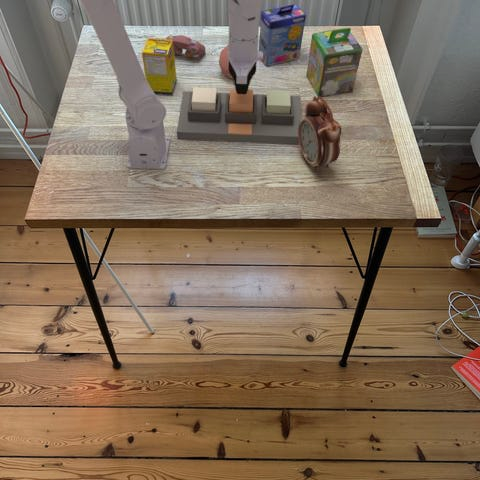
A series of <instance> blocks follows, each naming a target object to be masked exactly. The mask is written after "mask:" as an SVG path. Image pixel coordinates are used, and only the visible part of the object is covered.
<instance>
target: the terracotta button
mask: <svg viewBox="0 0 480 480" xmlns="http://www.w3.org/2000/svg"><path fill="white" fill-rule="evenodd" d="M229 93H230V101H229V112H244V113H252V111H253V94H254V89H248V91H247V94H237V93H236V89H235V88H230V89H229Z"/></svg>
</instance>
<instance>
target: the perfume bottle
mask: <svg viewBox="0 0 480 480" xmlns="http://www.w3.org/2000/svg"><path fill="white" fill-rule="evenodd" d="M228 51H229V43H228V44H227V45H226V46H224V48H222V49H221V51H220V53H219V58H218V63H219V64H218V65H219V67H220V71H221V73H222V75H224V76H225V77H227V78H230V79H233V78H232V76H231V74H230V73H229V70H228V66H229V60H228Z"/></svg>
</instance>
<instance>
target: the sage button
mask: <svg viewBox="0 0 480 480" xmlns="http://www.w3.org/2000/svg"><path fill="white" fill-rule="evenodd" d="M266 95H267V97H266V113H269V114H290V107H291V104H290V96H291V91H290V90H267V89H266Z"/></svg>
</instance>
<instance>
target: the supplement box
mask: <svg viewBox="0 0 480 480" xmlns="http://www.w3.org/2000/svg"><path fill="white" fill-rule="evenodd" d="M141 56H142V62H143V63H142V64H143V69H144V71H143V72H144V76H145V78H146V80H147V82H148V84H149V85H150V87H151V89H152V90H153V92H154V93H155V95H169V96H173V94H174V90H175V86H176V84H177V81H178V80H177V79H178V78H177V70H176V59H175V58H176V57H175V53H174V47H173V40H170V39H166V38H157V37H156V38H154V37H147V39H146V41H145V43H144V46H143V47H142V51H141Z"/></svg>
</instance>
